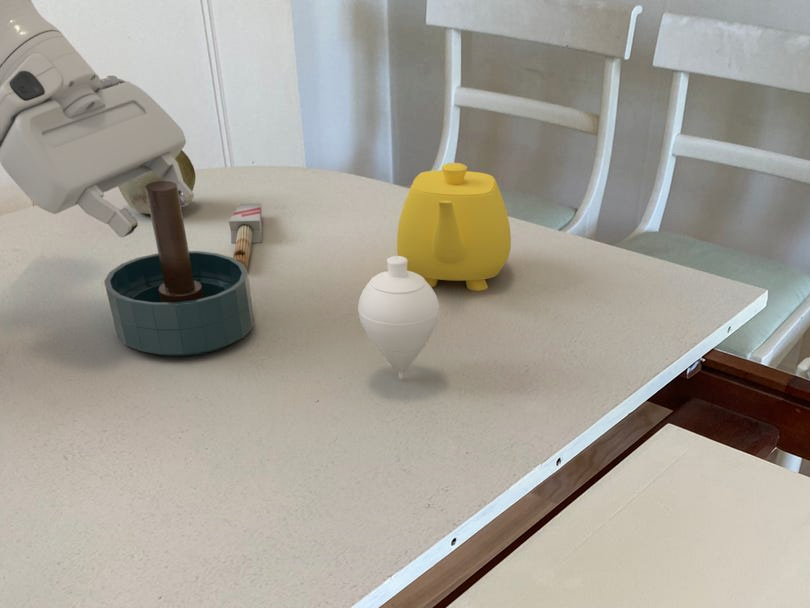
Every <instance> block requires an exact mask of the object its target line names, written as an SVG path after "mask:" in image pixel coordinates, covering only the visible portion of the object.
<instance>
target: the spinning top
mask: <svg viewBox="0 0 810 608" xmlns="http://www.w3.org/2000/svg"><path fill="white" fill-rule="evenodd" d="M407 262H408V260H407V259H406V258H405V257H402V256H398V255H393V256H389V257H387V259H386V268H387V270H385V271H382V272H379V273H378V274H376V275H374V276H372V277H371V279H370V280H369V281H368V283H367V284H366V285H365V287H364V288H363V290H362V291H361V293H360V296H359V299H358V306H357V311H358V317H359V321H360V322H361V325H362V328H363V330H364V332H365V333H366V335H367V336H368V338H369V340H370V342H371V343H372V344H373V346H374V347H375V348H376V349H377V351H378V352H379V353H380V355H382V356H383V358H384V359H385V360H386V361H387V362H388V363H389V364H390V366H392V368H394V370H396V371H397V372H398V378H399V380H400V381H401V380H403V379H404V371H406V370H407V369H408V368H409V367H410V366H411V364H413V362H414V361H415V360H416V358H417V357H418V356H419V355H420V353H421V352H422V350H423V349H424V347H425V346H426V345H427V344H428V342H429V340H430V338H431V336H432V335H433V332H434V330H435V328H436V326H437V323H438V320H439V314H440V313H439V312H440V306H439V299H438V296H437V294H436V293H435V291H434V289H433V287H431V286H430V285H429V284H428V283H427V282H426V281H425V279H424V278H423V277H422V276H420V275H418V274H416V273H414V272H411V271H407Z"/></svg>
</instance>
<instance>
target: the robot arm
mask: <svg viewBox="0 0 810 608" xmlns="http://www.w3.org/2000/svg"><path fill="white" fill-rule="evenodd" d="M186 143H187V141H186V136H185V133H184V131H183V129H182V127H180V125H179V124H178V123H177V122H176V121H175V120H174V119H173V118H172V117H171V116H170V115H169V113H168V112H167V111H166V110H164V108H162V107H161V106H160V104H159V103H157V102H156V101H155V100H154V98H152V97H151V95H149V94H148V93H147V92H146V91H145V90H143V89H142V88H141V87H139V86H138V85H136V84H134V83H132V82H130V81H126V80H124V79H121V78H118V77H117V76H115V75H107V76H104V77H103V78H100V77H99V75H98V74H97V73H96V71H95V70H94V69H93V68H92V66H90V64H89V63H88V62H87V61H86V60H85V58H84V57H83V56H82V55H81V54H80V53H79V52H78V51H77V50H76V48H75V47H74V46H73V44H71V43H70V41H69V40H68V38H67V37H65V35H64V34H63V33H62V32H61V31H60V30H59V29H58V28H57V26H55V25H54V24H51V22H49V21H47V19H46V18H45V17H44V16H42V15H41V14H40V12H39V11H38V10H37V8H36V7H35V5H34V3H33V1H32V0H0V165H1V166H2V168H3V169H4V170H5V172H6V173H7V174H8V176H9V177H10V178H11V180H13V182H14V183H15V184H16V185H17V186H18V188H20V190H21V191H22V192H23V193H24V194H25V195H26V196H27V197H28V198H29V199H30V200H31V201H32V202H33V203H34V204H35V205H36V206H37V207H38V208H39V209H41V210H44V211H46V212H48V213H50V214H53V215H57V214H60V213H62V212H64V211H66V210H68V209H71V208H73V207H75V206H77V205H78V206H79V207H80V208H81V209H82V210H83V212H84V213H85V214H86V215H89V216H90V217H93V218H94V219H96V220H98V221H100V222H102V223H104V224H106V225H108V226H109V227H110V228H111V229H112V230H113V231H114V233H115V234H116V235H117V236H118V237H119V238H125V237H127V236H129V235H132V234H133V232H134V231H135V229H136V228H138V225H139V223H138V220H137V219H136V217H134V216H132V214H131V212H130V211H129V210H128V209H127V208H126V207H125V208H122V209H120V208H118V207H117V206H115V205H114V204H112V203H111V202H109V200H106V199H105V198H104V196H105V193H106V192H108V191H111V190H113V189H115V188H117V187H118V186H120V185H122V184H124V183H127V182H129V181H131V180H133V179H136V178H138V177H140V176H142V175H144V174H147V173H149V172H151V171H153V172H154V173H155V174H156V176H157V177H158V178H159V179H161V178H164V180H165V181H170V182H174V183H176V184H177V188H178V193H179V199H180V205H181V208H184V207H186V206H188V205H189V204H190V203H191V202H192V201H193V199H194V196H195V194H194V192H193V191H191V190H190V189H189V187H188V186H187V185H186V184H185V183H184V181H183V178H182V175H181V172H180V169H179V166H178V163H177V161H176V160H175V158H176V157H177V156H178V154H179V153H180V152H181V150H182V151H183V149H184V148H185V146H186ZM118 188H119V187H118Z"/></svg>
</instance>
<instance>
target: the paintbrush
mask: <svg viewBox="0 0 810 608" xmlns="http://www.w3.org/2000/svg"><path fill="white" fill-rule="evenodd" d="M262 205H263V204H262V203H261V202H255V203H253V202H251V203H250V202H249V203H247V202H245V203H239V205H238V206H237V208H236V210H235V211H234V213H233V214H232V215H231V217H230V218H229V220H228V224H229V228H230V241H231V244H235V246H234V250H233V255H232V258H234V259H235V260H237V261H238V262H240V263H242V264H243V265H244V266H245V268H246V270H247V269H248V267H249V261H250V254H251V253H250V252H251V246H252V243H253V244H257V243H263V239H262V238H263V236H262V235H263V234H262V233H263V229H262V228H263V227H262V226H263V225H262V224H263V221H262V220H263V219H262V216H263V215H262V210H263V209H262ZM247 271H248V270H247Z"/></svg>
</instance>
